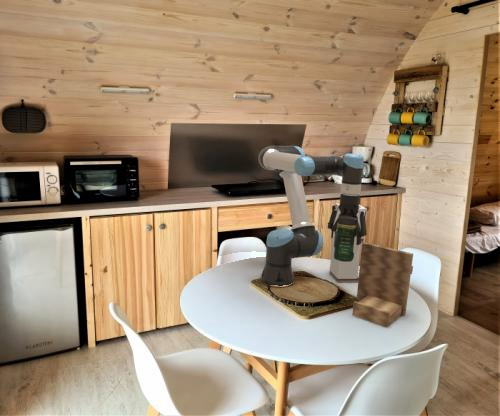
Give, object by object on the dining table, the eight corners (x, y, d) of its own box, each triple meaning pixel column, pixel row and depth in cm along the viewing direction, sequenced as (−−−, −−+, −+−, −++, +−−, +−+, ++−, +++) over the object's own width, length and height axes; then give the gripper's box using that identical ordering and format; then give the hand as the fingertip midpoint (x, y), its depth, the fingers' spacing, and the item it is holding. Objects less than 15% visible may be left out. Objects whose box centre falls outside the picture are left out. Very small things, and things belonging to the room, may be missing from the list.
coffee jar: (352, 264, 171) (357, 217, 167) (332, 260, 174) (336, 215, 169) (354, 256, 180) (359, 212, 176) (335, 253, 183) (339, 210, 178)
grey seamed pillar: (359, 282, 203) (366, 208, 196) (337, 283, 201) (343, 208, 194) (350, 273, 214) (357, 203, 207) (329, 274, 212) (335, 203, 205)
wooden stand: (340, 311, 173) (346, 250, 167) (360, 298, 186) (366, 241, 180) (389, 328, 160) (397, 263, 155) (407, 313, 173) (414, 252, 168)
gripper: (321, 190, 175) (316, 245, 180) (372, 199, 162) (365, 258, 167) (330, 188, 180) (326, 241, 185) (380, 197, 167) (373, 253, 172)
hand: (344, 249), depth 176 cm, fingers closed on coffee jar, 9 cm apart
